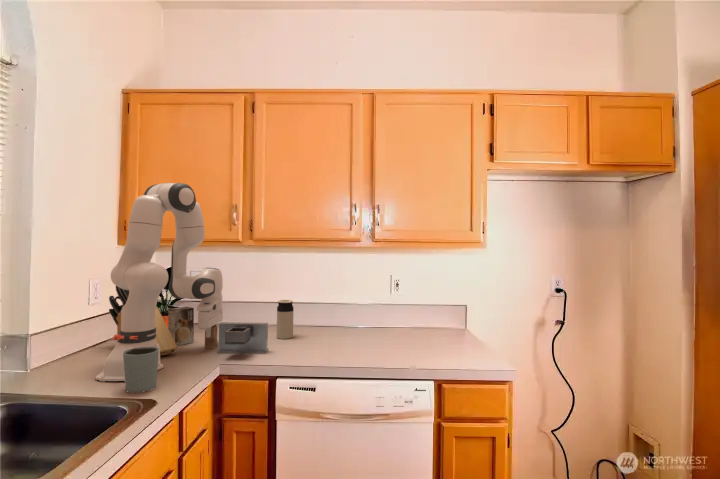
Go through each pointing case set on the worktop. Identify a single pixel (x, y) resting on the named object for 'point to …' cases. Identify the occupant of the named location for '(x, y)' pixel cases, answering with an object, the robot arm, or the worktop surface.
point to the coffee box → (181, 324)
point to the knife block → (163, 333)
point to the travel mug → (285, 319)
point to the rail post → (211, 338)
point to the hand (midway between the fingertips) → (211, 335)
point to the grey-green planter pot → (140, 368)
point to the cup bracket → (243, 337)
